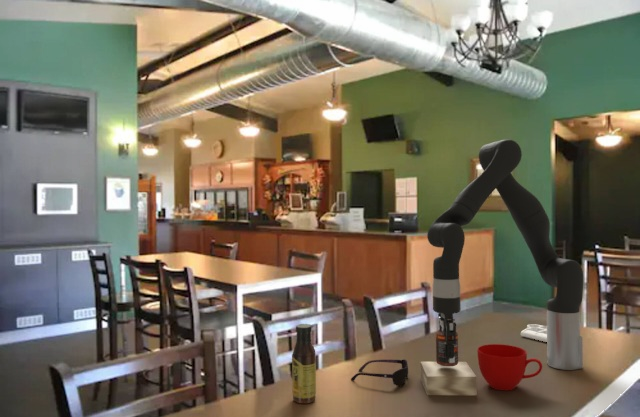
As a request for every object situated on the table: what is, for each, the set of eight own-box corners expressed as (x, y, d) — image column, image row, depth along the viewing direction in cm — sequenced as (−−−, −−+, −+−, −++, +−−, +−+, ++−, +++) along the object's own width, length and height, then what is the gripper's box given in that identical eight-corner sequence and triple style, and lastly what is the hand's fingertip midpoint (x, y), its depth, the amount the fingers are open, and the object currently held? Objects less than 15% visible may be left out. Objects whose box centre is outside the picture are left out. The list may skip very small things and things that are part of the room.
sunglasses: (402, 390, 144) (402, 372, 144) (348, 384, 149) (347, 367, 149) (411, 374, 157) (410, 358, 157) (360, 370, 162) (360, 353, 162)
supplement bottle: (459, 367, 142) (458, 326, 142) (436, 366, 143) (435, 325, 143) (457, 361, 148) (457, 321, 147) (436, 360, 149) (435, 320, 149)
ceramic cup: (538, 401, 134) (537, 362, 134) (472, 389, 143) (471, 353, 143) (546, 385, 145) (546, 349, 145) (484, 375, 154) (484, 341, 154)
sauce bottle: (292, 396, 140) (290, 322, 140) (315, 395, 140) (314, 321, 140) (292, 405, 133) (291, 328, 133) (317, 404, 134) (316, 327, 134)
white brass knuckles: (513, 336, 199) (538, 331, 207) (555, 347, 184) (581, 341, 191) (513, 327, 199) (538, 322, 207) (555, 337, 184) (581, 332, 191)
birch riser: (466, 378, 151) (465, 361, 151) (476, 395, 138) (476, 376, 138) (420, 378, 152) (420, 361, 152) (427, 395, 139) (426, 376, 139)
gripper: (465, 299, 138) (466, 362, 138) (455, 289, 152) (455, 347, 152) (436, 299, 138) (437, 362, 138) (429, 290, 152) (429, 347, 153)
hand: (447, 354), depth 145 cm, fingers closed on supplement bottle, 6 cm apart
